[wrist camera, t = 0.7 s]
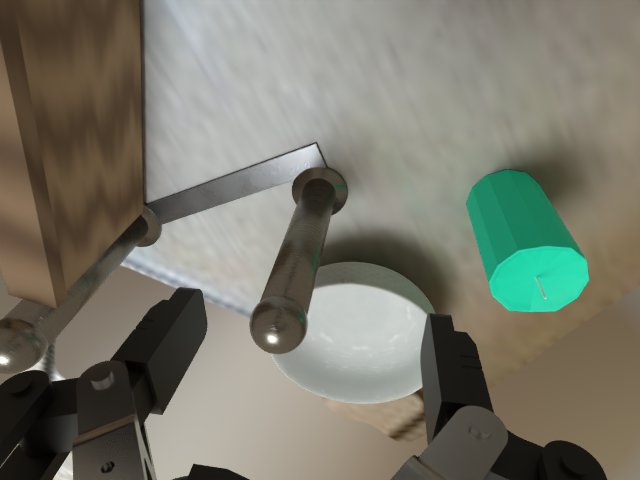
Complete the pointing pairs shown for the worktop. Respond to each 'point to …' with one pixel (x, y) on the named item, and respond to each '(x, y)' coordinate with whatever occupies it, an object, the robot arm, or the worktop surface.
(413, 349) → the cereal bowl
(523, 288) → the candle
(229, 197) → the gate posts
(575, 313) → the worktop surface
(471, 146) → the worktop surface
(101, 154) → the gate
